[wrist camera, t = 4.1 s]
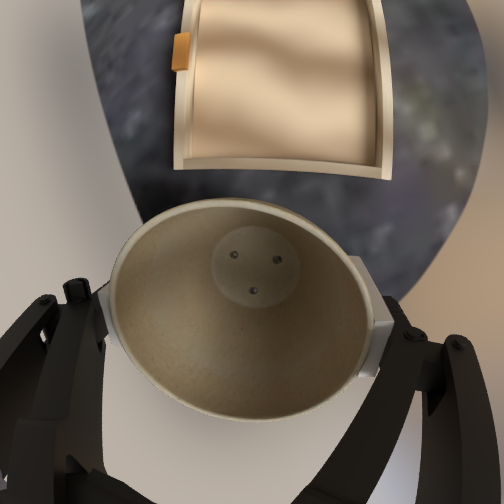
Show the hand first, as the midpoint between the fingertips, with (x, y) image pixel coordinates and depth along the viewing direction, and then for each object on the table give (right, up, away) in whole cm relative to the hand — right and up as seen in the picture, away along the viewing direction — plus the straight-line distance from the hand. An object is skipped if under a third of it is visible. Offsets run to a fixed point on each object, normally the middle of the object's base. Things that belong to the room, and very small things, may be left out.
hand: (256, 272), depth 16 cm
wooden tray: (+2, +17, 0) cm, 17 cm away
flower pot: (0, 0, 0) cm, 1 cm away
